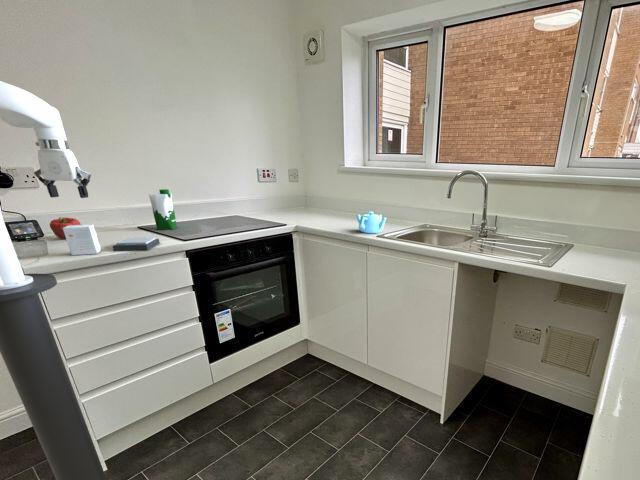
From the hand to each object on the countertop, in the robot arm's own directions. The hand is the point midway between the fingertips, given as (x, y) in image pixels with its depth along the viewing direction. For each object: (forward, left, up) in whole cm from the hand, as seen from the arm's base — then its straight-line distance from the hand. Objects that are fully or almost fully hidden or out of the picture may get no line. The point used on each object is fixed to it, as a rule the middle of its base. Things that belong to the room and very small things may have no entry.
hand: (69, 197), depth 127 cm
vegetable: (+32, +22, -21) cm, 44 cm away
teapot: (+41, -118, -21) cm, 127 cm away
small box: (+2, +1, -21) cm, 22 cm away
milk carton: (+55, -10, -21) cm, 60 cm away
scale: (+11, -13, -21) cm, 27 cm away
